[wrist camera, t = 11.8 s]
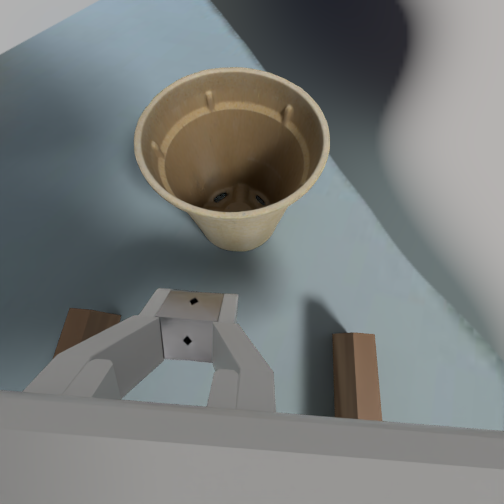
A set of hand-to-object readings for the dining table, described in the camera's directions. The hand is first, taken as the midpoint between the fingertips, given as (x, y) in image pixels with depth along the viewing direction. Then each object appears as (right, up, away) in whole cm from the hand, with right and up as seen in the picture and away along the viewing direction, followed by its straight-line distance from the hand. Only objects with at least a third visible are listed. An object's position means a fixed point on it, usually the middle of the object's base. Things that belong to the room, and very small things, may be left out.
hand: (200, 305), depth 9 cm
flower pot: (+1, +5, +11) cm, 12 cm away
